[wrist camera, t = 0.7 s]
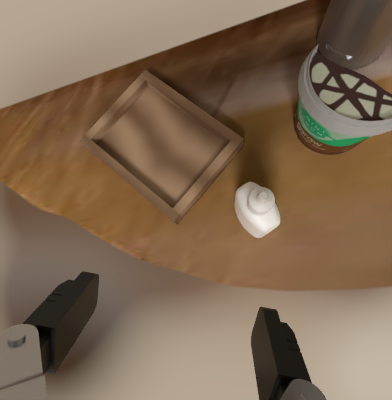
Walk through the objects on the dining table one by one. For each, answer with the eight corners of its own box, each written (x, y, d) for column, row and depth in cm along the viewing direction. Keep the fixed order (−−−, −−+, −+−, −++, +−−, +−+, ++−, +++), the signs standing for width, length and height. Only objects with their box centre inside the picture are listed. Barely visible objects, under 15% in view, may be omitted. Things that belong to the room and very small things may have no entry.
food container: (265, 129, 37) (277, 84, 28) (292, 97, 38) (313, 41, 28) (344, 182, 34) (388, 151, 25) (371, 146, 35) (426, 102, 25)
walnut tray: (150, 80, 41) (145, 69, 39) (243, 146, 37) (244, 138, 35) (88, 148, 40) (79, 140, 38) (177, 224, 36) (173, 221, 33)
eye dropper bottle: (237, 239, 34) (240, 229, 23) (233, 197, 36) (235, 167, 24) (271, 237, 34) (293, 226, 22) (266, 195, 35) (285, 163, 24)
